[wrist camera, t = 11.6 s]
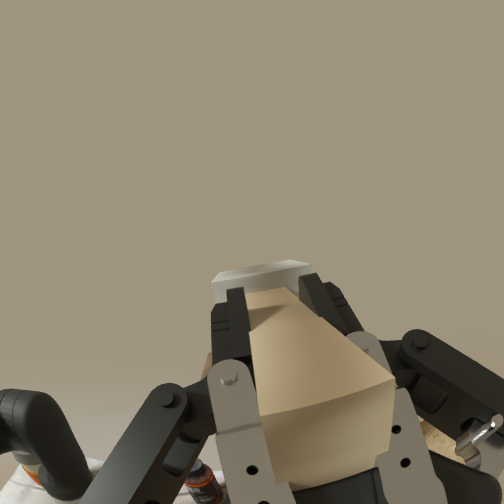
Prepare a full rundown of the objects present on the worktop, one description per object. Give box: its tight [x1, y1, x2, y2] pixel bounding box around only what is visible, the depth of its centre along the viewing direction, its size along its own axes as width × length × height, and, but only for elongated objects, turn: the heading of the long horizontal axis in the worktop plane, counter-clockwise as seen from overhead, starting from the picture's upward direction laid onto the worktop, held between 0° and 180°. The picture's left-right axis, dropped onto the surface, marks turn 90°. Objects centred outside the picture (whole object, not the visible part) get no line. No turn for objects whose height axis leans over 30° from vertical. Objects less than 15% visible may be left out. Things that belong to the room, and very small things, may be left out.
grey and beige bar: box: [211, 260, 395, 492], centre depth 13 cm, size 6×19×4 cm, turn 3°
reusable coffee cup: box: [12, 451, 44, 488], centre depth 29 cm, size 13×13×15 cm
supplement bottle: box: [184, 458, 223, 504], centre depth 35 cm, size 6×6×11 cm
